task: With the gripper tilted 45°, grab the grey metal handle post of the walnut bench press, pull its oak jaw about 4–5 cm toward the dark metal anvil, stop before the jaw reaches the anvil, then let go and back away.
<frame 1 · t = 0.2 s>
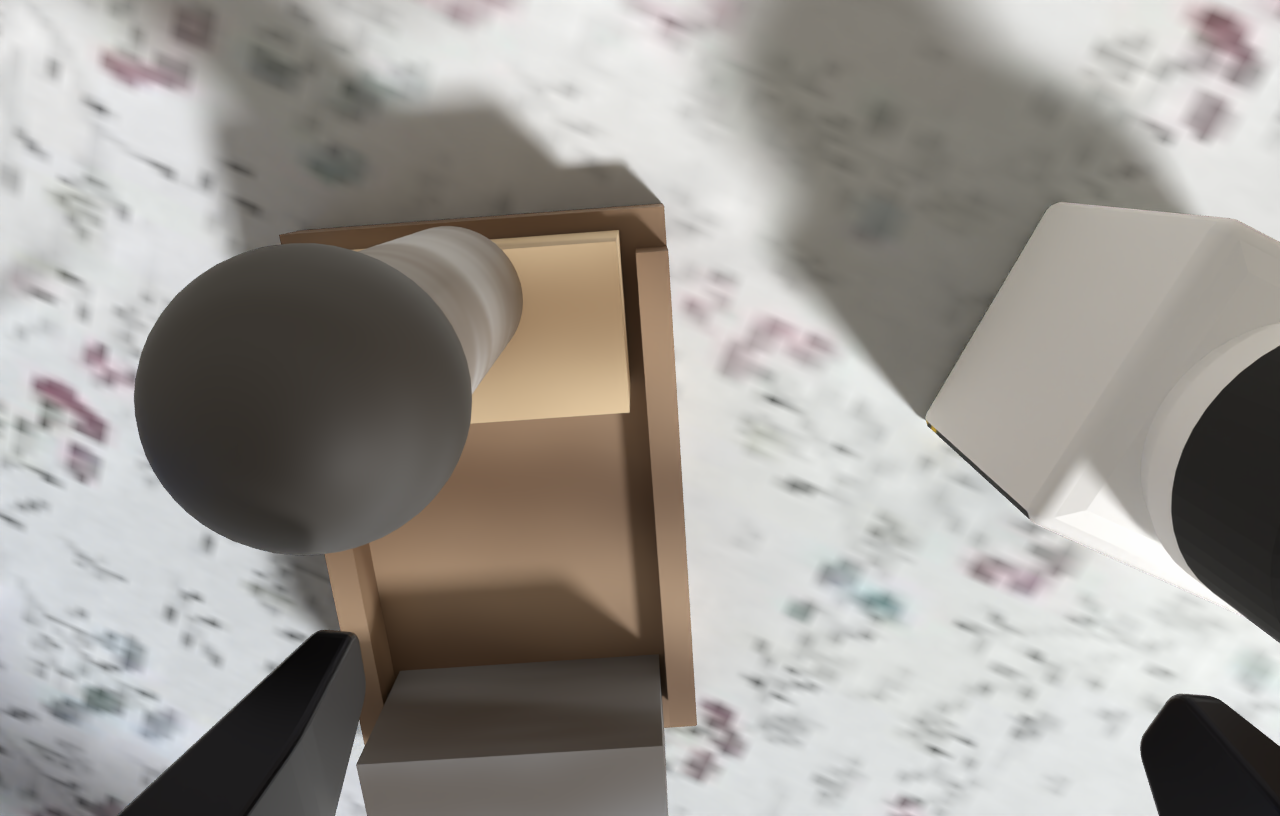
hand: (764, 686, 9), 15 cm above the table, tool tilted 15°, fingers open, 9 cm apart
medicine bottle: (1080, 361, 23), on the table
press handle: (414, 355, 15), point 8 cm above the table, slide at 0.0 cm
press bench: (511, 453, 24), on the table
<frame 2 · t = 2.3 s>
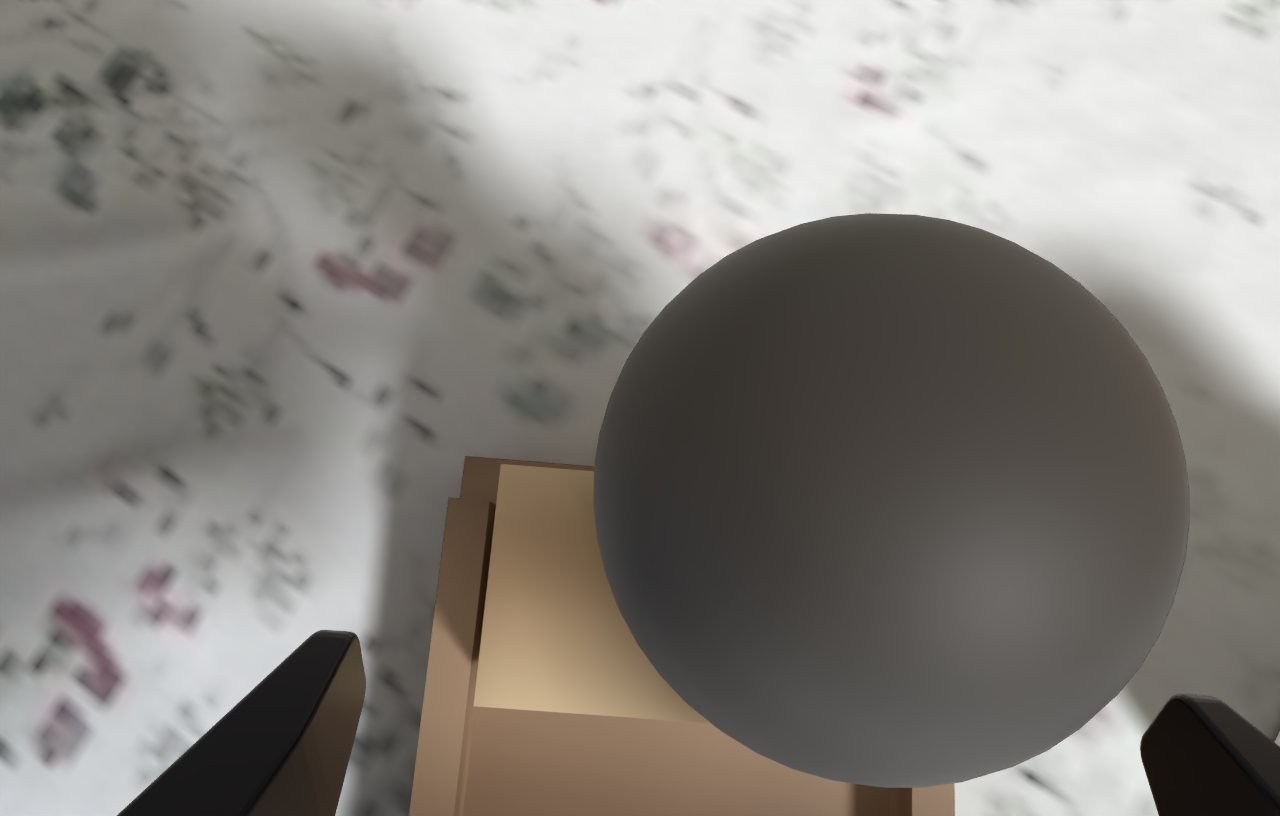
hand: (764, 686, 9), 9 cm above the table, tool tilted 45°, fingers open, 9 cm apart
press handle: (750, 565, 10), point 8 cm above the table, slide at 0.0 cm
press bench: (671, 807, 17), on the table
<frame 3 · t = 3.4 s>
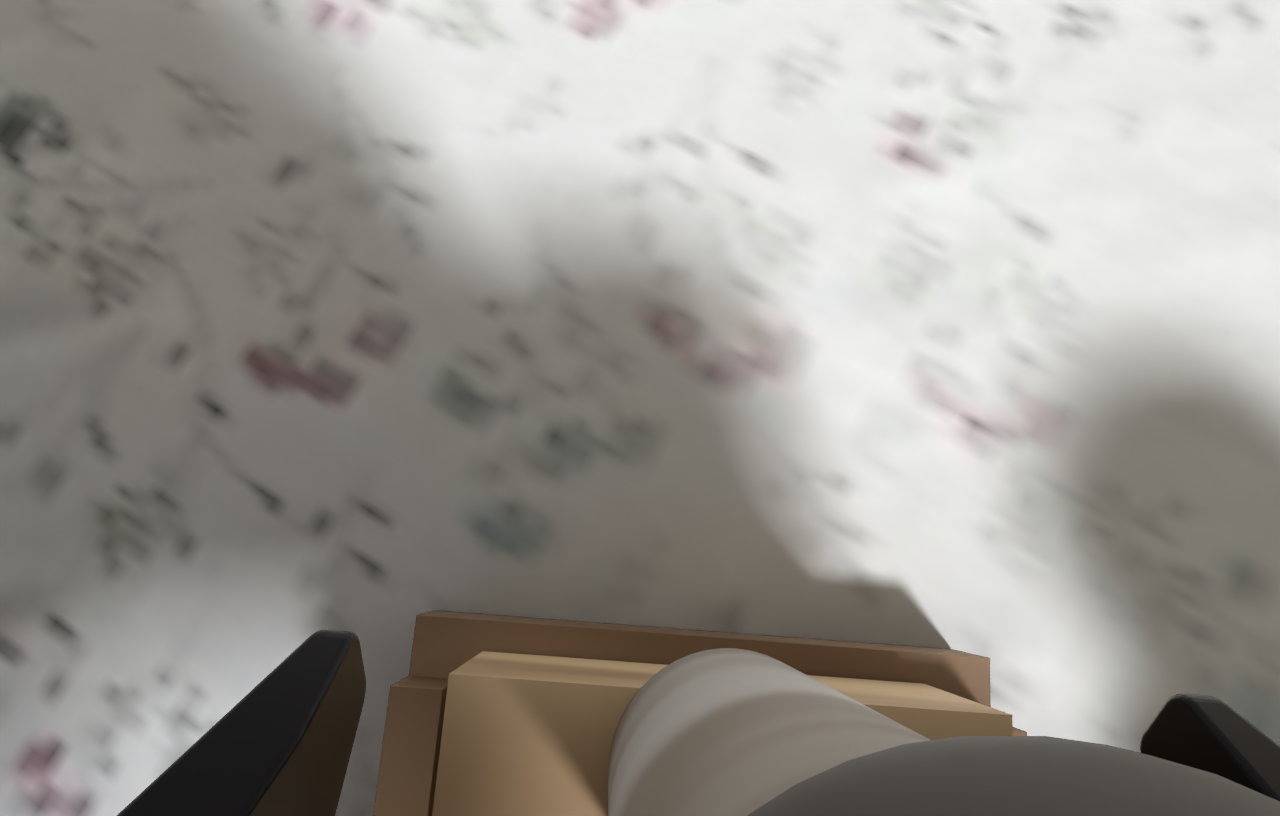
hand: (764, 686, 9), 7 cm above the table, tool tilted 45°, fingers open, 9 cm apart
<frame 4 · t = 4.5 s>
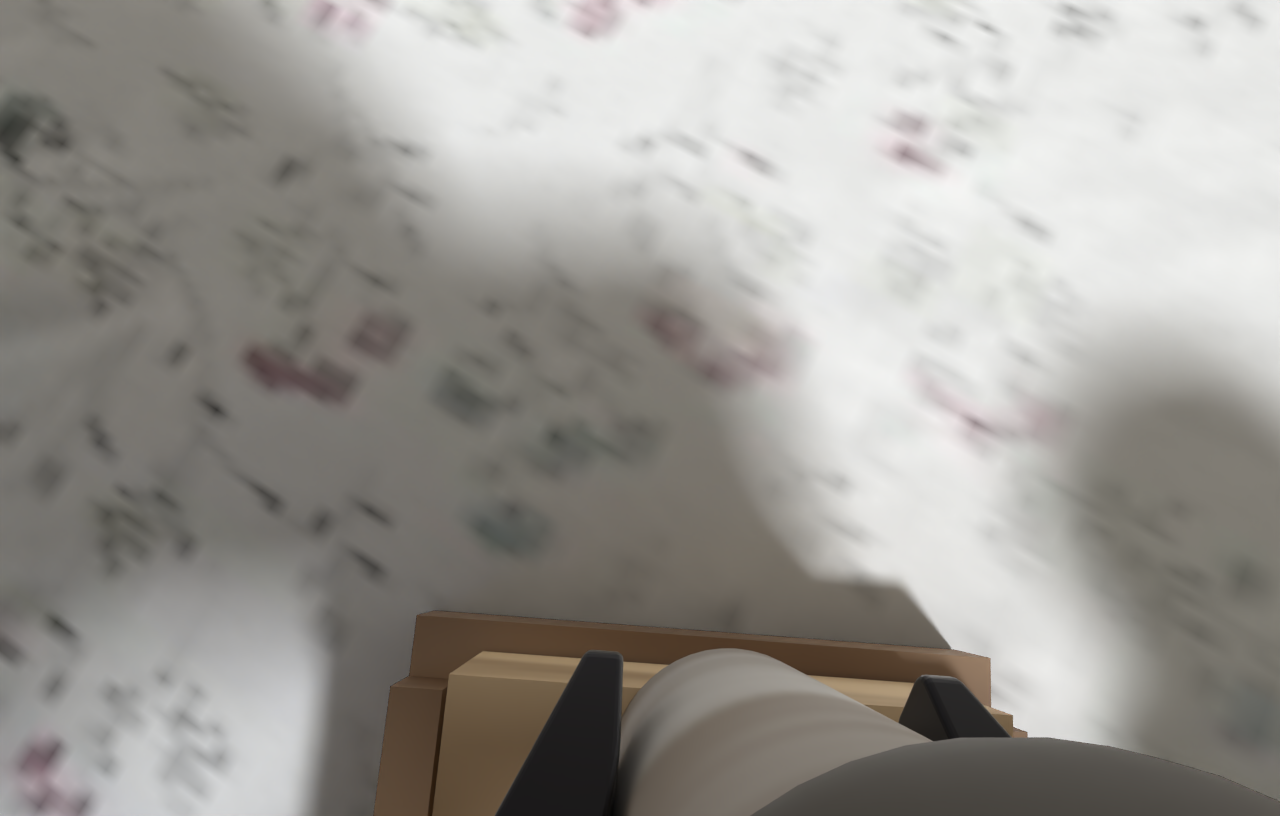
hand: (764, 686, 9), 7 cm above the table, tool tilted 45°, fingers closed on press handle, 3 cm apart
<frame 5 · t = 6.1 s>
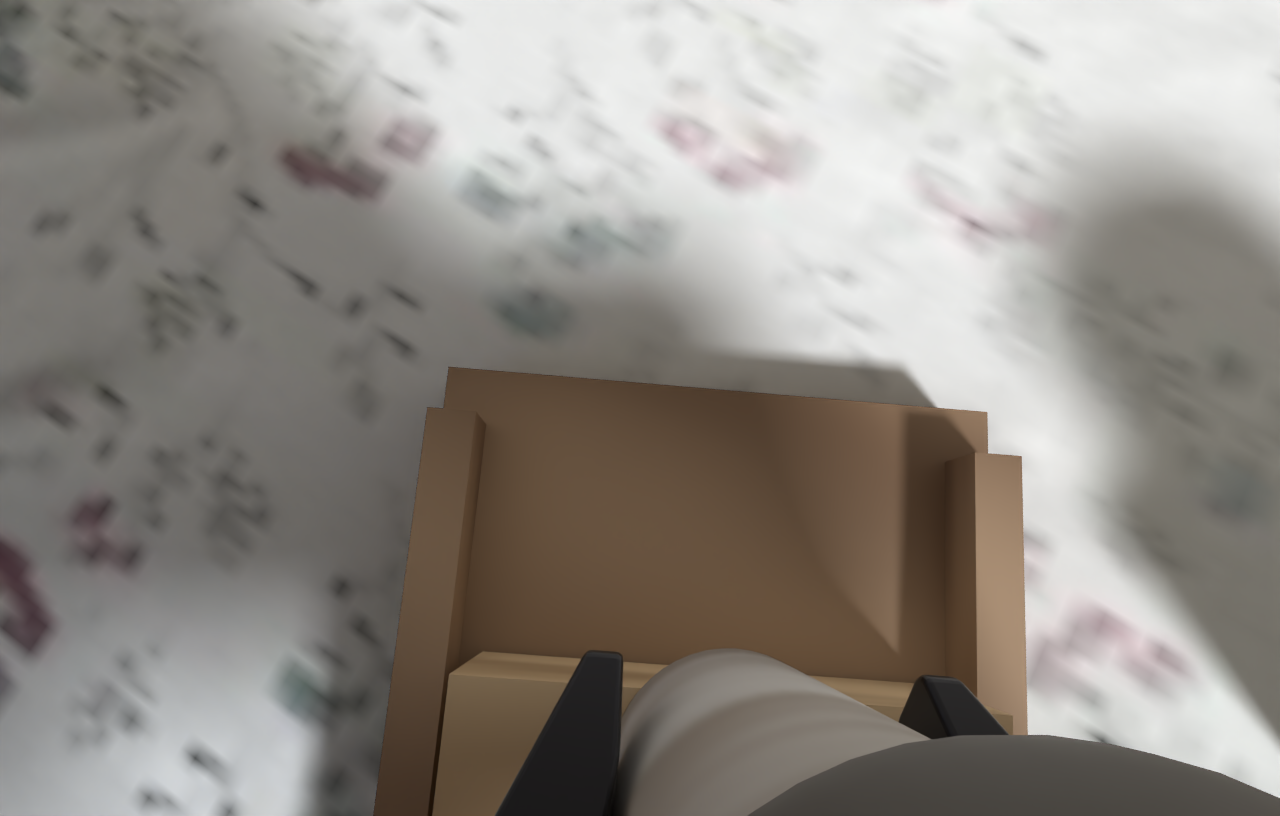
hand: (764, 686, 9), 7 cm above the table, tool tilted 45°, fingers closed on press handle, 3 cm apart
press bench: (688, 775, 15), on the table
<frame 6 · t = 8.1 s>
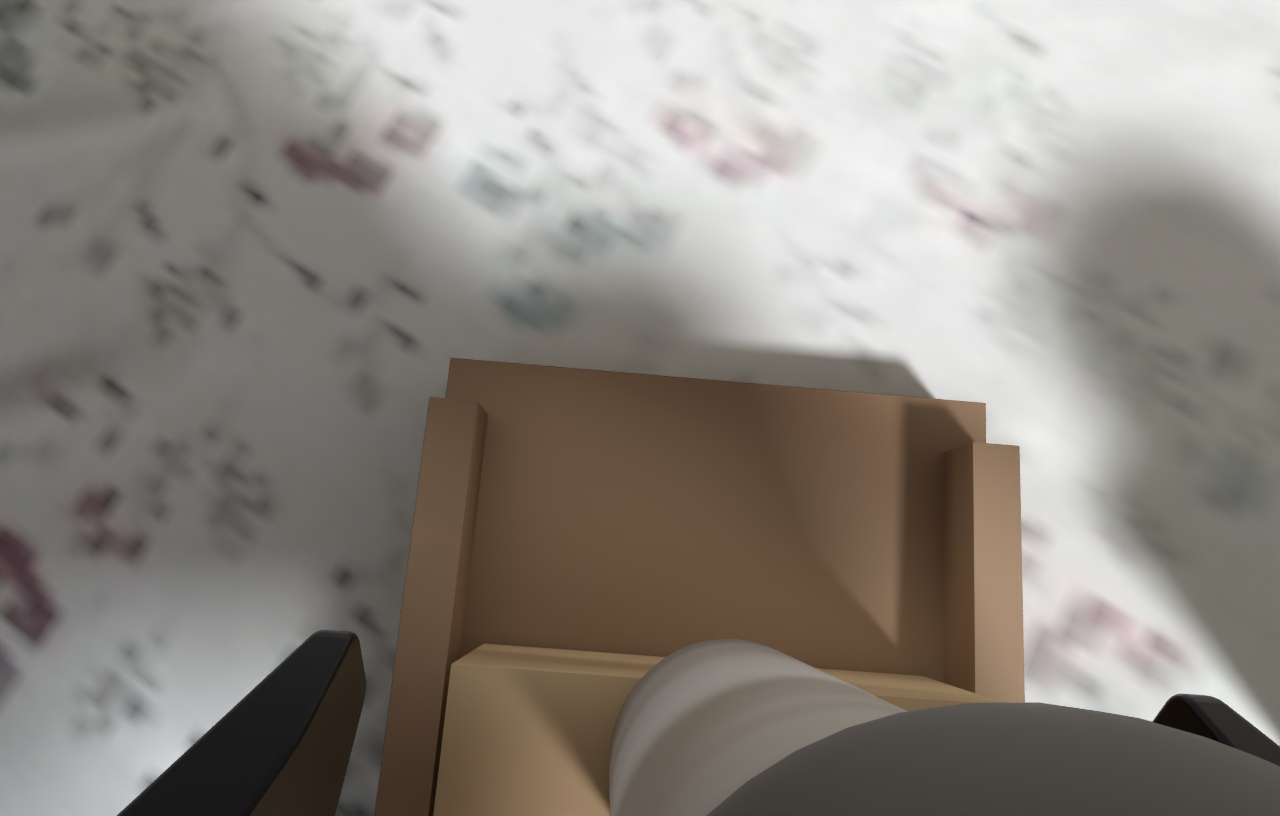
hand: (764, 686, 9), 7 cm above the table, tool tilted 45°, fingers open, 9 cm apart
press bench: (688, 763, 15), on the table
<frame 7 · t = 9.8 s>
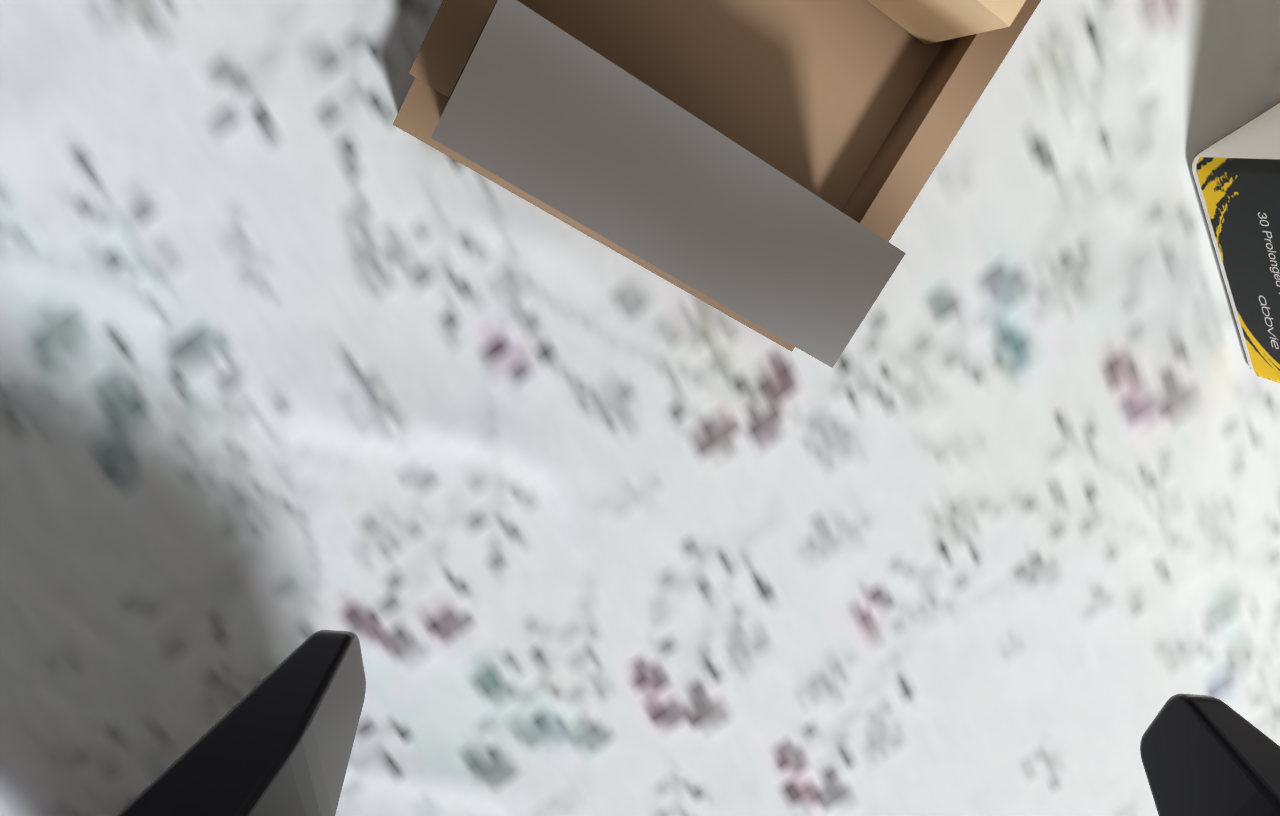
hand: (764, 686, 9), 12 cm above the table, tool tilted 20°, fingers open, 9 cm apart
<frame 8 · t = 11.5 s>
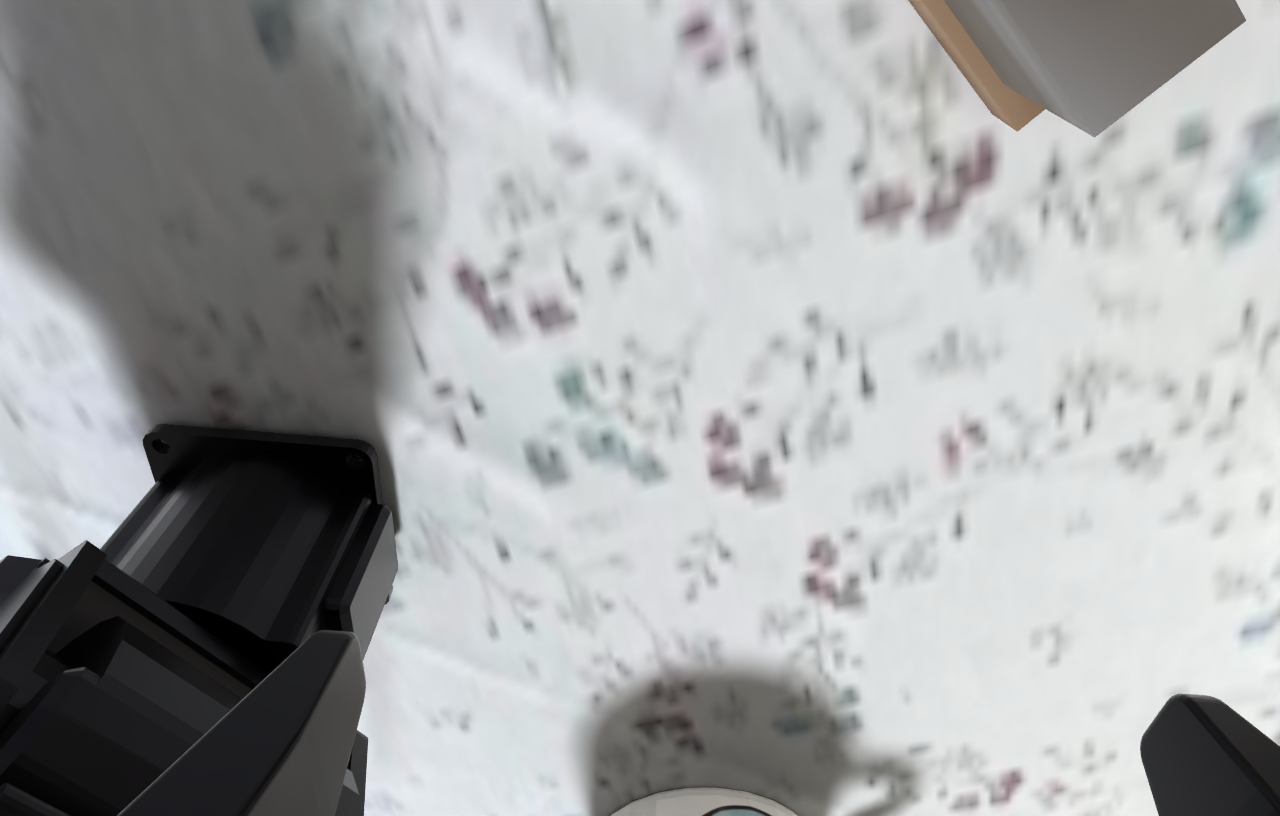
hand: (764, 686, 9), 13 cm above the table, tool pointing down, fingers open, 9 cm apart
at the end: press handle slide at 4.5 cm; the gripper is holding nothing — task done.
